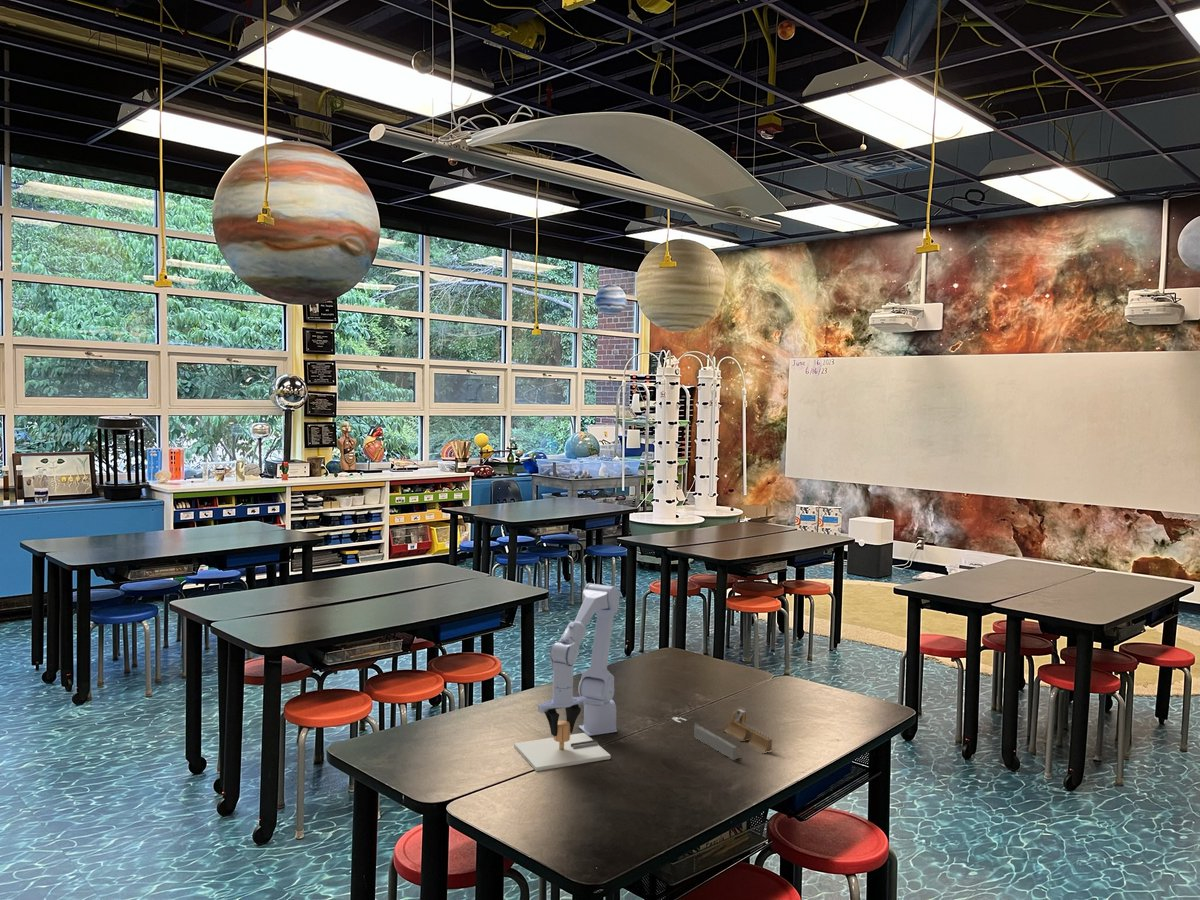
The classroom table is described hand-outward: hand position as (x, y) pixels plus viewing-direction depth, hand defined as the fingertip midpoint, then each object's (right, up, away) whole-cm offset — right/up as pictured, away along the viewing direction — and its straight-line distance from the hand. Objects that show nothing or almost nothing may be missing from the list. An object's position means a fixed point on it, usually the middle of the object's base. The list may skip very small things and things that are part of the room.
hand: (561, 733), depth 235 cm
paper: (+35, -6, +33) cm, 49 cm away
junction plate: (0, -6, 0) cm, 6 cm away
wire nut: (0, -2, 0) cm, 2 cm away
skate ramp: (+54, -7, +11) cm, 56 cm away
